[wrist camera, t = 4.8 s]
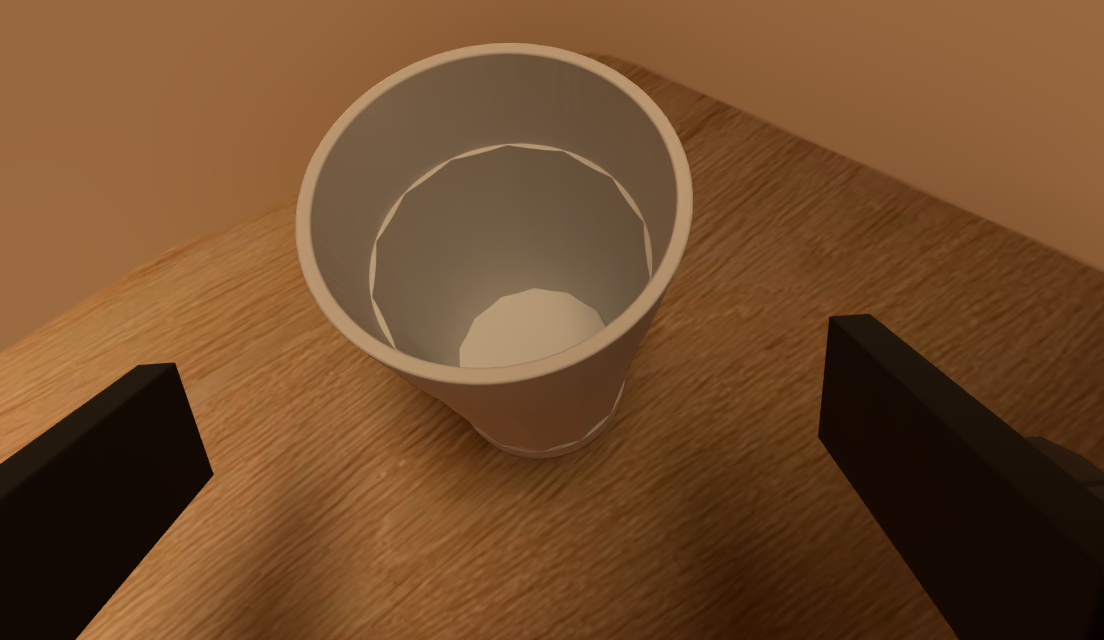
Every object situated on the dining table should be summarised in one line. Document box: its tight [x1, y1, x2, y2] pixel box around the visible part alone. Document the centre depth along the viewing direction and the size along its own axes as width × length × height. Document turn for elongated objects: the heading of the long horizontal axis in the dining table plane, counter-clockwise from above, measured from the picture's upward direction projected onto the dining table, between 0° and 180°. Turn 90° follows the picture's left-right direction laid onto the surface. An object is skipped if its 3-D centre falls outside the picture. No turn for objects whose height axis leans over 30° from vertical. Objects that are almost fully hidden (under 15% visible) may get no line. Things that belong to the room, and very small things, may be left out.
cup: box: [295, 43, 693, 459], centre depth 18 cm, size 8×8×12 cm
